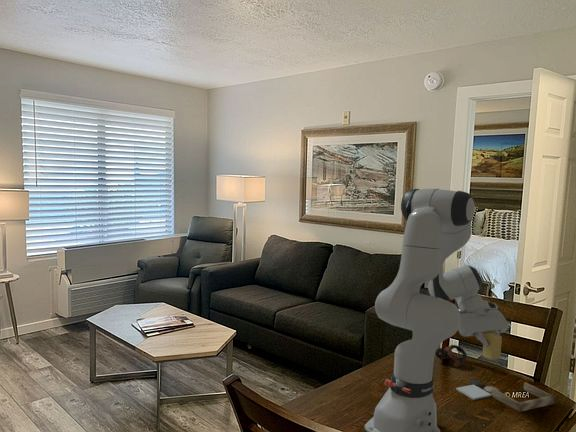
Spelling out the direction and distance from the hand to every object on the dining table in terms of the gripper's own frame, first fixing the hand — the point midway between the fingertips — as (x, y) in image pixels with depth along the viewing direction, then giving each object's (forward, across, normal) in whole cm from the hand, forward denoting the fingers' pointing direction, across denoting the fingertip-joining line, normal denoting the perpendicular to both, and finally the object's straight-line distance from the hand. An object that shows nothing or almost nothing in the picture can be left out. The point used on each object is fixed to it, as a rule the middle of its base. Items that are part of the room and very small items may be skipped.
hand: (493, 345), depth 153 cm
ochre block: (+3, 0, +4) cm, 5 cm away
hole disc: (+7, 0, +16) cm, 17 cm away
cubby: (+17, +6, +6) cm, 19 cm away
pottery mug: (-6, +4, +29) cm, 30 cm away
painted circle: (+11, +2, +12) cm, 17 cm away
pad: (+11, -6, +12) cm, 18 cm away
